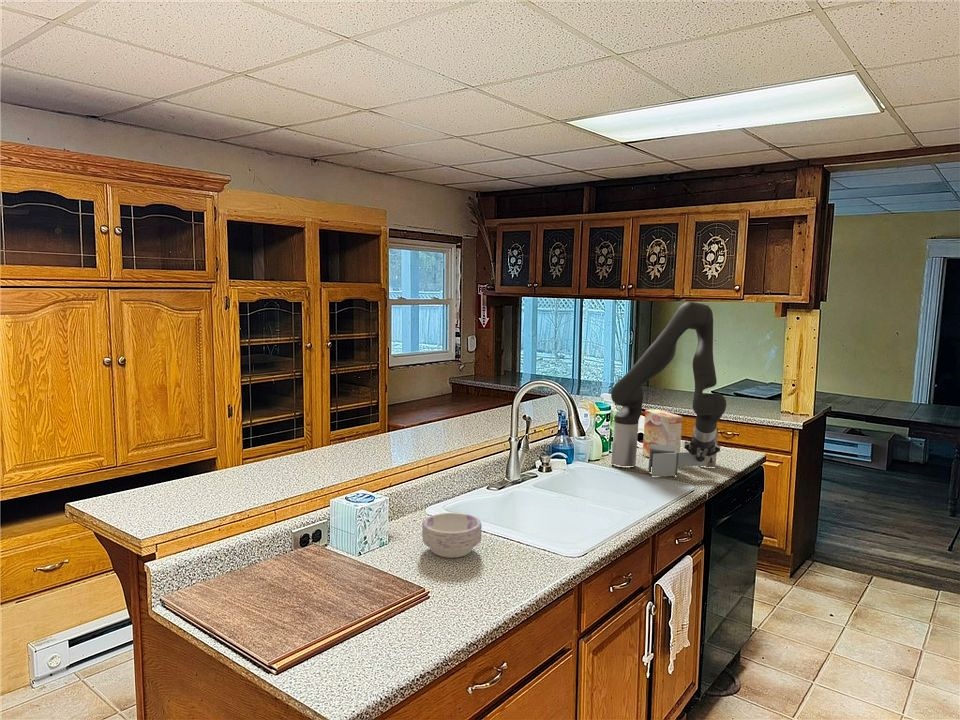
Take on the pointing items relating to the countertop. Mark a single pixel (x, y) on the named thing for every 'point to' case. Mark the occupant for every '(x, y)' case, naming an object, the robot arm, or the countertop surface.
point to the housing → (659, 451)
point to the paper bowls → (451, 534)
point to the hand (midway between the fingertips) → (699, 459)
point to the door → (672, 463)
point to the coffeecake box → (661, 430)
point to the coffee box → (712, 459)
